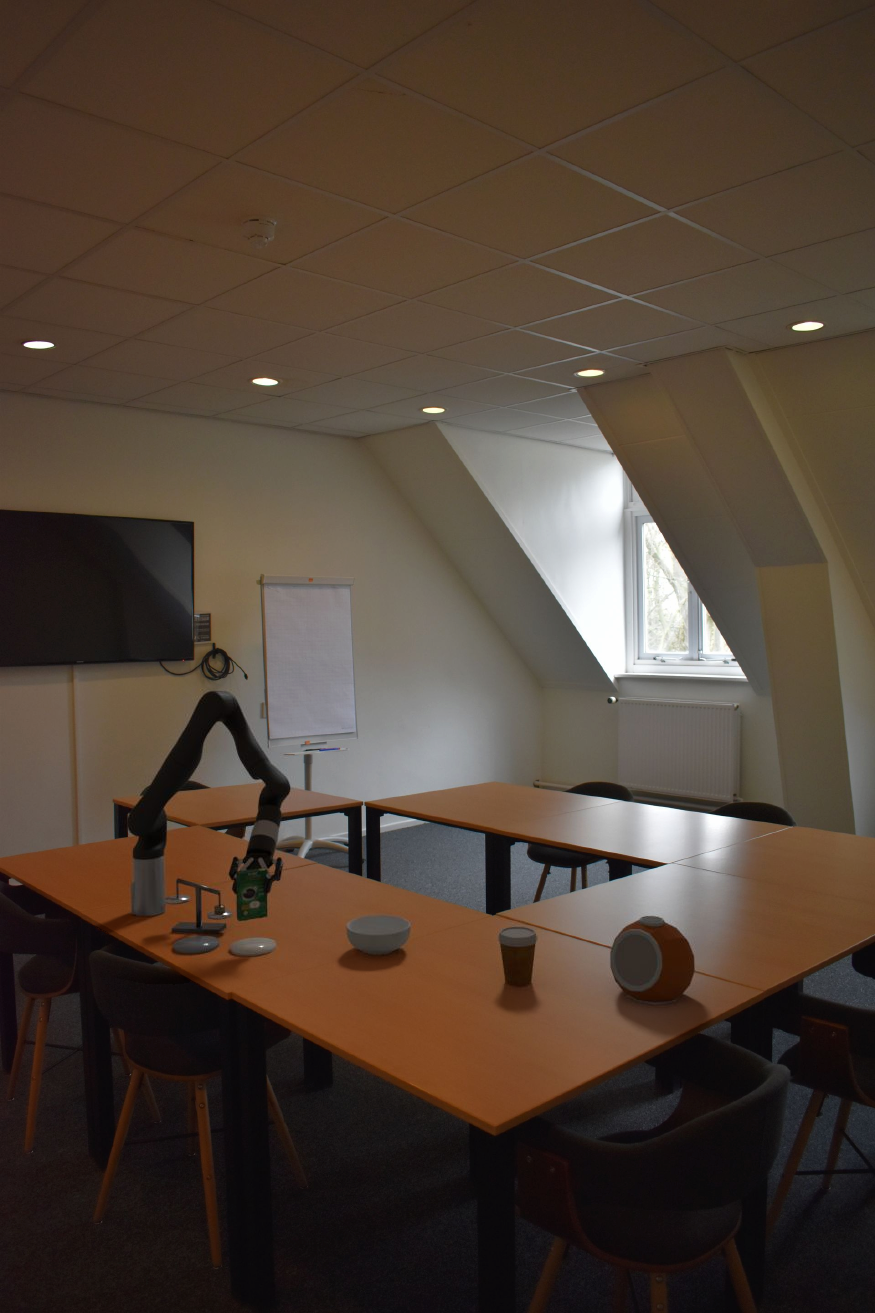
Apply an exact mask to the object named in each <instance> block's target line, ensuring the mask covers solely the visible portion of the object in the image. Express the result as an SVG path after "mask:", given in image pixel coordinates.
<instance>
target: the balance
mask: <svg viewBox="0 0 875 1313" xmlns="http://www.w3.org/2000/svg"><path fill="white" fill-rule="evenodd" d="M179 884H181V885H185V886H188V887H191V888H194V890H195V921H193V922H192V921H178V923H177V924H175V925H174V926H172V928H171V933H172V932H179V933H178V934H206V935H207V934H209V935H210V934H213V935H219V934H220V933H222V932H223V931H224V930H225V929H226V928H227V923H226V922H203V910H202V908H203V907H202V905H203V904H202V891H204V892H208V893H211V894H214V895H218V897H217V898H218V904H215V905H214V910H211V911H208V912H207V918H208V919H209V920H213V921H214V920H216V921H217V920H226V919H230V918H231V917H232V916H233V911H232V910H230V909H226V905H225V904H222V900H221V897H222V896H221V890H219V889H215V888H212V887H209V886H206V885H202V884H199V883H195V882H192V881H189V880H185V879H182V878H176V880H175V886H176V887H175V888H176V890H175V891H176V892H175V893H176V894H173V895H170V896H167V897H165V903H166V905H167V904H168V905H181V904H186V903H189V902H190V901H191V896H190V895H189V894H188V895H187V894H179V893H180V892H179ZM221 931H222V932H221Z"/></svg>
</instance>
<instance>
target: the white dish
mask: <svg viewBox="0 0 875 1313" xmlns="http://www.w3.org/2000/svg"><path fill="white" fill-rule="evenodd" d="M229 949H230V953H231V952H232V954H233V955H236V956H239V957H240V956H241V957H258V956H262V955H266V954H269V953H271V952H273V951H275V950H276V949H277V944H276V941H275V940H273V939H271V938H268V937H247V938H243V939H242V938H241V939H239V940H237V941H234V942H232V943H231V945H230V948H229Z"/></svg>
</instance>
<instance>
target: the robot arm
mask: <svg viewBox="0 0 875 1313" xmlns="http://www.w3.org/2000/svg"><path fill="white" fill-rule="evenodd" d="M219 722H220V723H222V724H223V725H224V726H225V728H227V730H228V731H229V733H230V735H231V736H232V738H233V741H234V745H235V750H236V752H237V757H238V758H239V761H240V762H241V764H242V765H243V767H244V769H245V770H246V771H247V773H248V775H249V776H250V777H251V779H253V780H254V781H259V780H261V781H262V782H263V783H264V786H263V788H262V789H261V791H260V794H259V798H258V805H257V813H256V817H255V821H254V824H253V827H252V829H251V833H250V837H249V839H248V840H249V841H248V844H247V848H246V853H245V855H244V857H243V858H238V857H237V856H234V857H233V858H232V860H231V864H230V868H229V871H228V876H229V878H230V880H231V881H233V883H232V887H231V889H232V891H233V893H234V895H236V871H243V870H246V869H247V870H251V869H259V868H262V869H267V874H266V876H267V879H266V880H265V884H264V889H263V893H264V895H267V896H268V895H269V894H270V893H271V890H272V886H273V884H274V882H280V880H282V879H281V878H282V873H283V872H282V871H283V867H284V861H283V858H282V857H277V858H274V856H275V852H276V848H277V847H276V846H277V843H278V840H279V832H280V826H281V823H282V818H283V817H282V816H283V814H282V810H281V808H282V806H283V805H282V804H283V802H285V800H286V798H287V797H288V796H289V795H290V793H291V784H290V781H289V779H288V778H287V776H286V775H285V774H284V773H283V772H282V771H280V770H279V769H278V768H277V766H275V765H274V764H273V763H271V760H270V759H269V758H268V756H267V755H266V753H265V751H264V750H263V748H262V747H261V746H260V744H259V742H258V741H257V739H256V737H255V735H254V734H253V732H252V730H251V727H250V725H249V724H248V722H247V720H246V718H245V715H244V713H243V711H242V708H241V705H240V703H239V702H238V699H237V698H236V696H234V694H233V693H231V692H229V691H223V690H211V691H207V692H205V693H204V694H203V695H202V696H201V697H200V699H199V700H198V702H197V704H196V705H195V708H194V710H193V713H192V714H191V716H190V719H189V721H188V723H187V725H185V728H184V730H183V731H182V732H181V734H180V736H179V737H178V739H177V741H176V742H175V744H174V746H173V747H172V749H171V750H170V751H169V753H168V755H167V757H166V758H165V759H164V761H163V763H162V765H161V766H160V768H159V770H158V771H157V773H156V774H155V776H154V777H153V779H152V782H151V783H150V785H149V787H148V788H147V790H146V791H145V792H144V794H143V795H142V796H141V798H140V799H139V801H137V802H136V804H135V805H134V807H132V809H131V811H130V812H129V814H128V816H127V821H126V825H127V826H126V827H127V829H128V831H129V833H130V834H131V835H132V836H134V837H138V840H137V841H136V844H135V845H134V847H133V848H132V875H133V878H132V882H131V883H130V906H131V907H130V909H131V910H130V912H131V914H130V915H135V916H137V917H153V916H158V915H161V914H163V913H165V912H166V911H167V910H166V909H167V908H166V905H167V903H165V898H166V877H165V876H166V874H165V873H166V872H165V871H166V870H165V849H166V846H167V839H168V838H167V837H168V836H167V834H168V817H167V813H166V810H165V809H164V808H165V807H166V805H167V804H168V802H170V800H171V799H172V798H173V797H175V795H176V794H177V793H178V792H179V791H181V789H183V787H184V786H185V785H186V784H187V783H188V782H189V780H190V779H191V778H192V776H193V774H194V773H195V772H196V769H197V768H198V767H199V765H200V762H201V760H202V756H203V750H204V745H205V744H204V743H205V741H206V739H207V737H208V735H209V733H210V732H211V730H212V729H213V728H214V726H215V725H216V724H217V723H219ZM242 864H243V865H242ZM273 865H274V873H273V874H271V873H270V872H271V871H270V870H269V869H270V868H271V867H272V866H273Z"/></svg>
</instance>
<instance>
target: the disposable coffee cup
mask: <svg viewBox="0 0 875 1313" xmlns="http://www.w3.org/2000/svg"><path fill="white" fill-rule="evenodd" d="M497 939H498V942H499V945H500V951H501V952H500V953H501V961H502V968H503V974H504V975H503V976H504V982H505V983H506V984H507V985H509V986H511V987H513V986H514V987H524V986H528V985H530V984H531V983H532V979H533V970H534V960H535V952H536V943H537V940H538V935H537V932H536V931H535V930H534V929H533V928H531V927H527V926H526V927H525V926H518V925H517V926H507V927H504V928H502V929H500V930H499V933H498V935H497Z"/></svg>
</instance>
